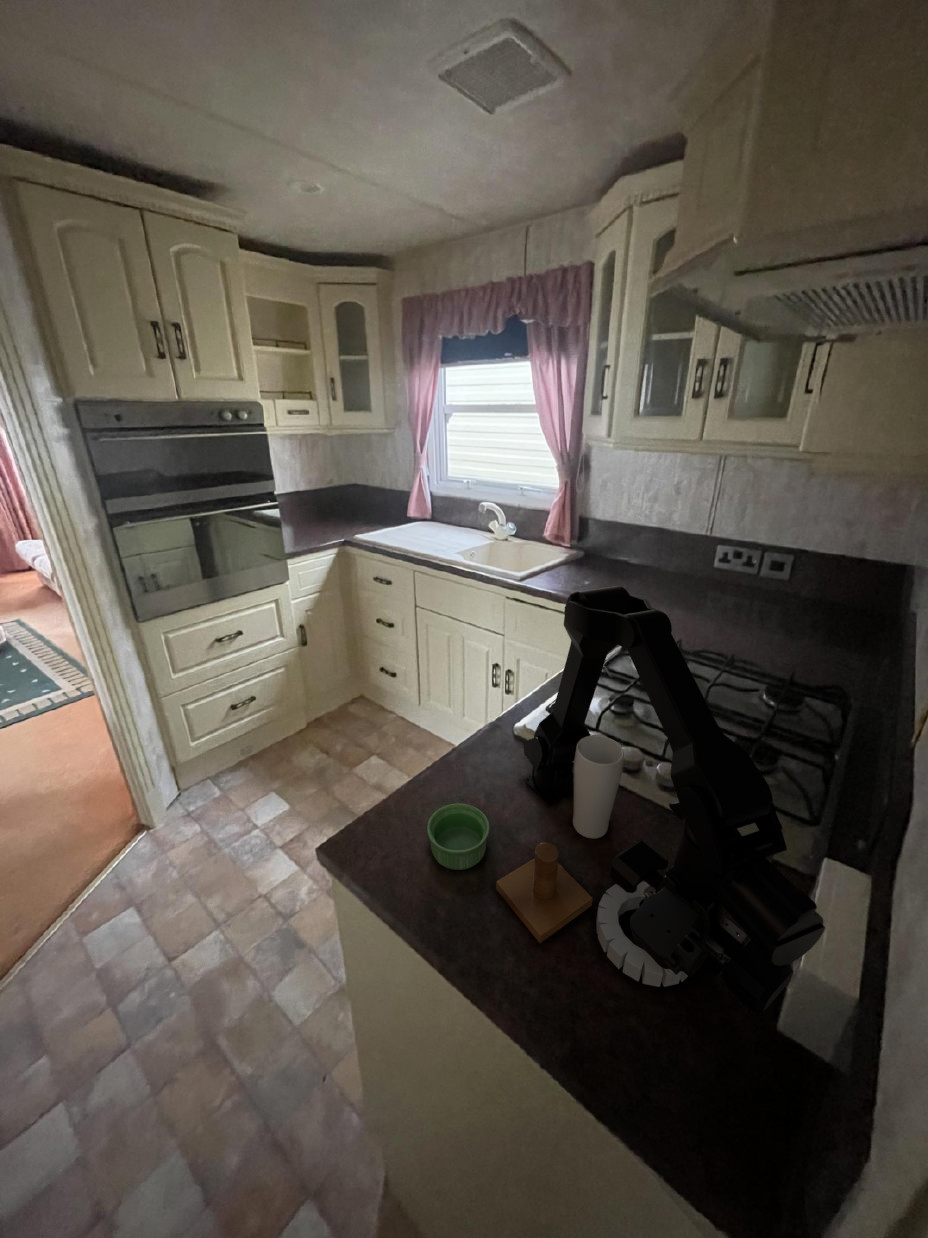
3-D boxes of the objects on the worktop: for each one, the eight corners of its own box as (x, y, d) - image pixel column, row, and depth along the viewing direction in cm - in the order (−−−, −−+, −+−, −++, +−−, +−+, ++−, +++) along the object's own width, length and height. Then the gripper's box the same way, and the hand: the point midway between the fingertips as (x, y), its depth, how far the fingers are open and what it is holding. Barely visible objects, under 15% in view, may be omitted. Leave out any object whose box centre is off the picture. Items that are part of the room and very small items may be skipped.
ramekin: (422, 831, 79) (421, 810, 77) (478, 819, 81) (478, 797, 79) (435, 881, 71) (434, 858, 69) (497, 865, 73) (498, 843, 71)
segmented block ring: (576, 923, 65) (578, 910, 64) (638, 877, 71) (640, 865, 70) (653, 1009, 56) (657, 995, 55) (717, 949, 62) (721, 936, 61)
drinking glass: (605, 809, 82) (616, 733, 76) (618, 844, 76) (631, 764, 70) (563, 810, 82) (571, 734, 76) (573, 845, 76) (582, 766, 70)
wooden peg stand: (495, 889, 70) (497, 843, 66) (545, 858, 74) (549, 814, 71) (539, 943, 63) (543, 896, 59) (591, 905, 67) (598, 859, 64)
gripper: (583, 842, 56) (571, 935, 63) (749, 996, 42) (712, 1095, 49) (649, 800, 62) (632, 889, 68) (815, 924, 48) (774, 1021, 54)
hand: (679, 962), depth 60 cm, fingers closed on segmented block ring, 2 cm apart
